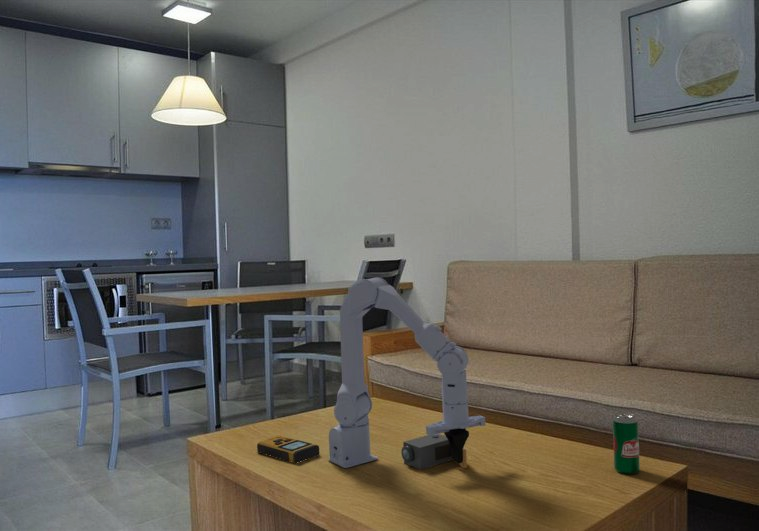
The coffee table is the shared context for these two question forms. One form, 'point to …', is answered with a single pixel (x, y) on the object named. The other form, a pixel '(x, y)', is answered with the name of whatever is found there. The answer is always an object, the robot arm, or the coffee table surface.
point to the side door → (464, 460)
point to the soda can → (626, 443)
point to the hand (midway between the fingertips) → (457, 461)
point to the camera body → (427, 451)
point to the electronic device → (288, 448)
